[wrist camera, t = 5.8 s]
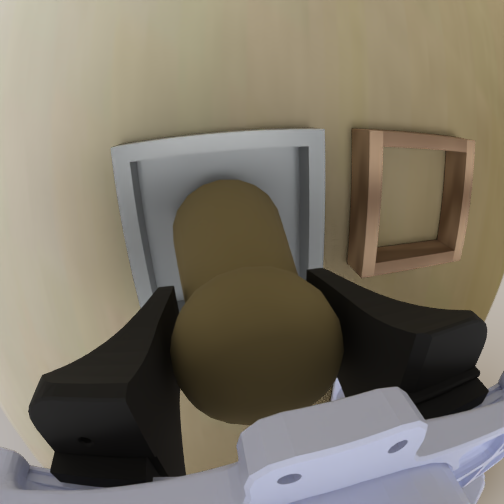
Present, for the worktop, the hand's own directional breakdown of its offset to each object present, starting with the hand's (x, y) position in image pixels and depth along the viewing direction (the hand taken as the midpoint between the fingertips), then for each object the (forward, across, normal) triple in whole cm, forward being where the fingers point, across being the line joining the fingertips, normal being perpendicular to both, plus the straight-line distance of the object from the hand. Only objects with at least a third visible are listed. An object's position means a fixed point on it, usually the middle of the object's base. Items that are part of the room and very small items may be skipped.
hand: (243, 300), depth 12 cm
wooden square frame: (+10, -14, -1) cm, 17 cm away
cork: (+6, 0, -1) cm, 6 cm away
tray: (+10, 0, 0) cm, 10 cm away
